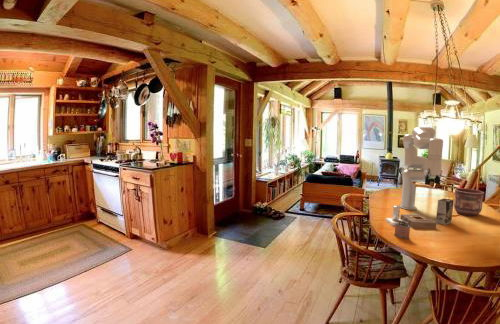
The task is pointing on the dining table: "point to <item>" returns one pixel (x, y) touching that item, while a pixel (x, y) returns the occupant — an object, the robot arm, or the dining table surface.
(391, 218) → the white square base plate
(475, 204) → the pottery
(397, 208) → the peg
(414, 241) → the dining table surface
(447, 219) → the coffee box
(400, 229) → the lighter
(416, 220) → the plate
